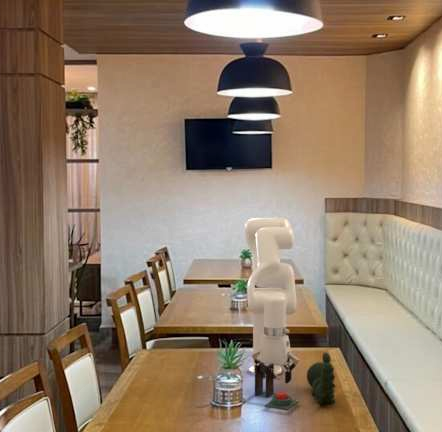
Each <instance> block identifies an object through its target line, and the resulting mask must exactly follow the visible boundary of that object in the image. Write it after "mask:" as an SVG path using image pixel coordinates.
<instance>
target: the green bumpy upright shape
mask: <svg viewBox="0 0 442 432" xmlns="http://www.w3.org/2000/svg"><path fill="white" fill-rule="evenodd" d="M321 357H322V361H319V362H315V363H312V364H311V365H310V366H309V367H308V369H307V372H306V381H307V383H308V385H309V386H310V387H311V388H312V391H311V393H310V394H311V396H312V397H314V398H313V400H315V401H316V404H318V405H321V406H322V405H323V404H325V403H328V404H329V405H333V406H334V404H335V403H336V400H335V388H336V384H335V383H334V381H335V378H336V376H335V373H334V371H335V368H334V367H333V365H332V364H331V359H332V358H331V356H330V354H329V353H328V352H323V353H322V356H321Z"/></svg>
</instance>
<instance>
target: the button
mask: <svg viewBox="0 0 442 432" xmlns="http://www.w3.org/2000/svg"><path fill="white" fill-rule="evenodd" d="M276 395H277V399H280V400H284V399H287V395H288V394H287V392H285V391H277V393H276Z"/></svg>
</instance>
